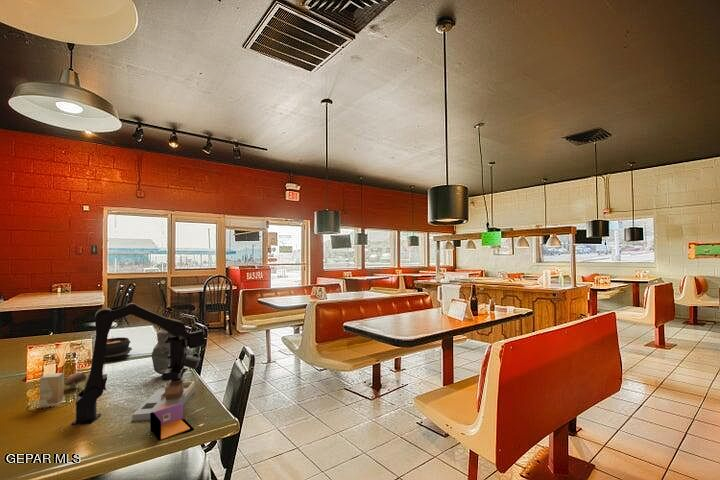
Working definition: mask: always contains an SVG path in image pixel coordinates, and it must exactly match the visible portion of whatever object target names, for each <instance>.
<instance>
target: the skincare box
mask: <svg viewBox="0 0 720 480" xmlns="http://www.w3.org/2000/svg"><path fill="white" fill-rule="evenodd" d="M39 379H40V381H39V382H40V383H39V404H38V406H39V408H47V407H48V408H49V406H51V407H58V406H59V405H61V404H62V403H64V392H65V391H64V388H65V384H64V382H65V372H59V373H58V372H57V373H56V372H55V373H45V374H44V375H43V376H41V377H40V378H39ZM60 403H61V404H60Z"/></svg>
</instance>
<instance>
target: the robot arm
mask: <svg viewBox="0 0 720 480" xmlns="http://www.w3.org/2000/svg"><path fill="white" fill-rule="evenodd" d="M130 315H131V316H134V317H136V318H139V319H141V320H143V321H146V322H149V323H151V324H153V325H156V326H158V327H160V328H161V329H164V330H166V331H167V332H169V333H170V334H172V335H173V336H174V337H170V336H167V337H166V338H165V339H164V342H165V343H169V355H168V359H169V358H170V365H169V366H168V369H169V368H172V370H166V371H165V372H164V373H163V374H160V377H161V378H160V379H161V381H162V382H164V381H165V382H166V381H181V380H183V376H184V374H185V373H186V372H187V371H188V368H190V369H193V370H196V369H197V367H198V366H199V364H200V361H201V356H200V353H198V352H194V354H191V355H190V354H188V352H187V350H186V348H188V349H189V350H190V349H196V348H201V347H205V346H206V345H205V344H206V339H205V334H204V330H197V331H191V332H189V331H188V330H187V329H186V326H185V325H186V324H184V322H182V321H181V320H180V319H176V318H175V319H174V318H170V317H167V316H163V315H160V314H158V313H155V312H153V311H151V310H148V309H146V308H144V307H142V306H140V305H138V304H136V303H135V302H129V303H126V304H123V305H118V306H113V307H110V308H109V307H101V308H100V309H98V310H97V311H96V312H95V315H94V323H95V324H94V325H95V339H94V346H93V352H92V357H91V364H90V370H89V373H88V376H87V377H86V380H85V383H84V387H83V389H82V390H81V391H80V392H79V393H78V394H77V395H76V399H75V405H76V406H75V420H73V421H72V422H71V423H70V425H71V426H73V425H74V426H75V425H85V424H92V423H93V422H94V421H96V420H97V419H98V418H99V417H101V416H102V413H97V411H98V409H97V407H98V406H97V404H98V402H97V399H99V398H100V397H102V395H103V394H104V391H107V388H106V387H107V386H106V384H107V381H108V374H107V373H105V374H104V373H103V372H104V371H103V370H104V365H105V351H106V344H107V339H109V338H108V337H109V333H110V330H111V329H112V326H113V323H114V321H115V320H119V319H122V318H124V317H127V316H130ZM185 367H186V368H185Z"/></svg>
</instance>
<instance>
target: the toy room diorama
mask: <svg viewBox="0 0 720 480" xmlns="http://www.w3.org/2000/svg"><path fill="white" fill-rule="evenodd" d="M183 411H184V406H183V404H182V403H179V404H176V405H173V406H169V407H166V408H163V409H160V410H157V411H154V412H151V413H150V419H149V422H150V425H149V426H150V431H151V433H152V435H153V436H154V437H155V438H156V439H157V440H158V441H162V440H167V439H170V438H172V437H176V436H178V435H184V434H185V435H186V434H188V433H190V432H193V431H194V430H195V429H194V427H193V426H192V425H191V424H190V423H189V422H188V421H186V419H184V412H183ZM165 415H168V418H164V416H165Z"/></svg>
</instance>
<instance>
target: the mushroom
mask: <svg viewBox="0 0 720 480" xmlns="http://www.w3.org/2000/svg"><path fill="white" fill-rule="evenodd" d="M86 380H87V375H86V374H85V373H83V372H75V373H72V374H70V375H68V376H67V377H66V378H65V379H64V386H70V387H69V389H70V390H73V389H76V388H77V387H78V386H79V384H82V383H84V382H86Z"/></svg>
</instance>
